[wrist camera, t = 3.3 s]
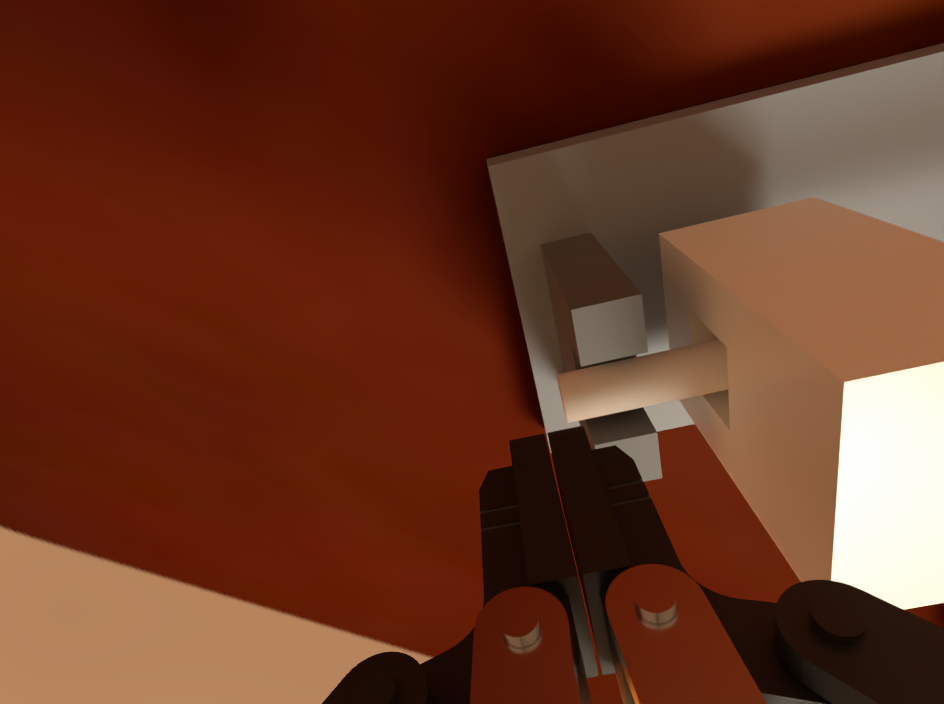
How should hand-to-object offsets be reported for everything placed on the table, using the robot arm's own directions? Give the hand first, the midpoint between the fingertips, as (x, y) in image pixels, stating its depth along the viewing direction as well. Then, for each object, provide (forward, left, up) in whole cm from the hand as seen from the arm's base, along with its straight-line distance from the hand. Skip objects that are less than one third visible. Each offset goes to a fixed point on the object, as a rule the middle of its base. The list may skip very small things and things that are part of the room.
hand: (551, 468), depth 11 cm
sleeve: (0, +6, -6) cm, 8 cm away
